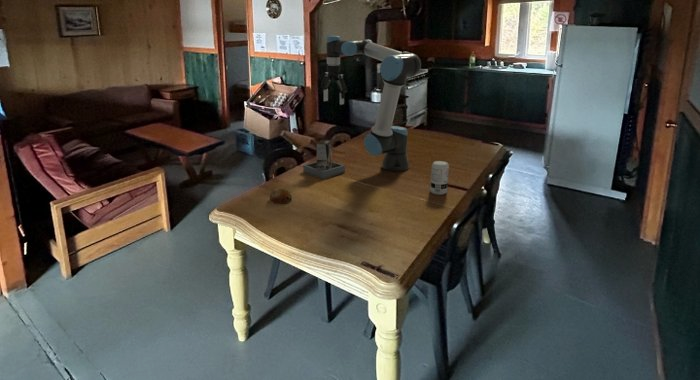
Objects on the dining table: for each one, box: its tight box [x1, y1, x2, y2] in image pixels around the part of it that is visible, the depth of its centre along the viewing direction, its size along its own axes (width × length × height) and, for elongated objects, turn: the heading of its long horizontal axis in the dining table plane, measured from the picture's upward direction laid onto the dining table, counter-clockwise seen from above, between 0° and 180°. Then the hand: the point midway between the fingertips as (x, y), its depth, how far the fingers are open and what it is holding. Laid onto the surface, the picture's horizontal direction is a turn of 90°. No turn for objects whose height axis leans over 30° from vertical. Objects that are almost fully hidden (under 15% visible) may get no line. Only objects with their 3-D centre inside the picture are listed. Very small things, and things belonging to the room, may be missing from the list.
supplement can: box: [429, 160, 450, 196], centre depth 242 cm, size 8×8×15 cm
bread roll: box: [269, 187, 293, 205], centre depth 233 cm, size 10×10×8 cm
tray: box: [302, 161, 346, 180], centre depth 271 cm, size 16×16×4 cm
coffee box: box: [316, 139, 333, 171], centre depth 268 cm, size 9×6×16 cm
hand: (333, 102), depth 286 cm, fingers open, 13 cm apart
